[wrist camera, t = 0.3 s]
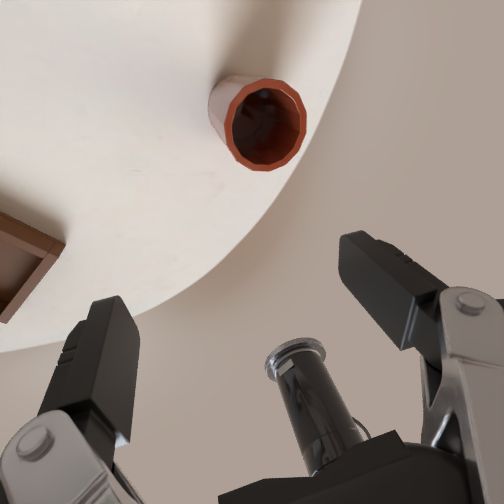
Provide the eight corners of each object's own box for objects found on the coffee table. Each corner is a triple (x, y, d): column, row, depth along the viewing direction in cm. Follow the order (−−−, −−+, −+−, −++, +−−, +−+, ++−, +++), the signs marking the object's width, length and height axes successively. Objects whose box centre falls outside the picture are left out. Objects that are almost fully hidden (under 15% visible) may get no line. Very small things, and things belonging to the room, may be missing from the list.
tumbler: (278, 109, 28) (322, 126, 20) (238, 154, 29) (264, 187, 21) (237, 58, 25) (270, 54, 17) (194, 111, 26) (205, 131, 18)
